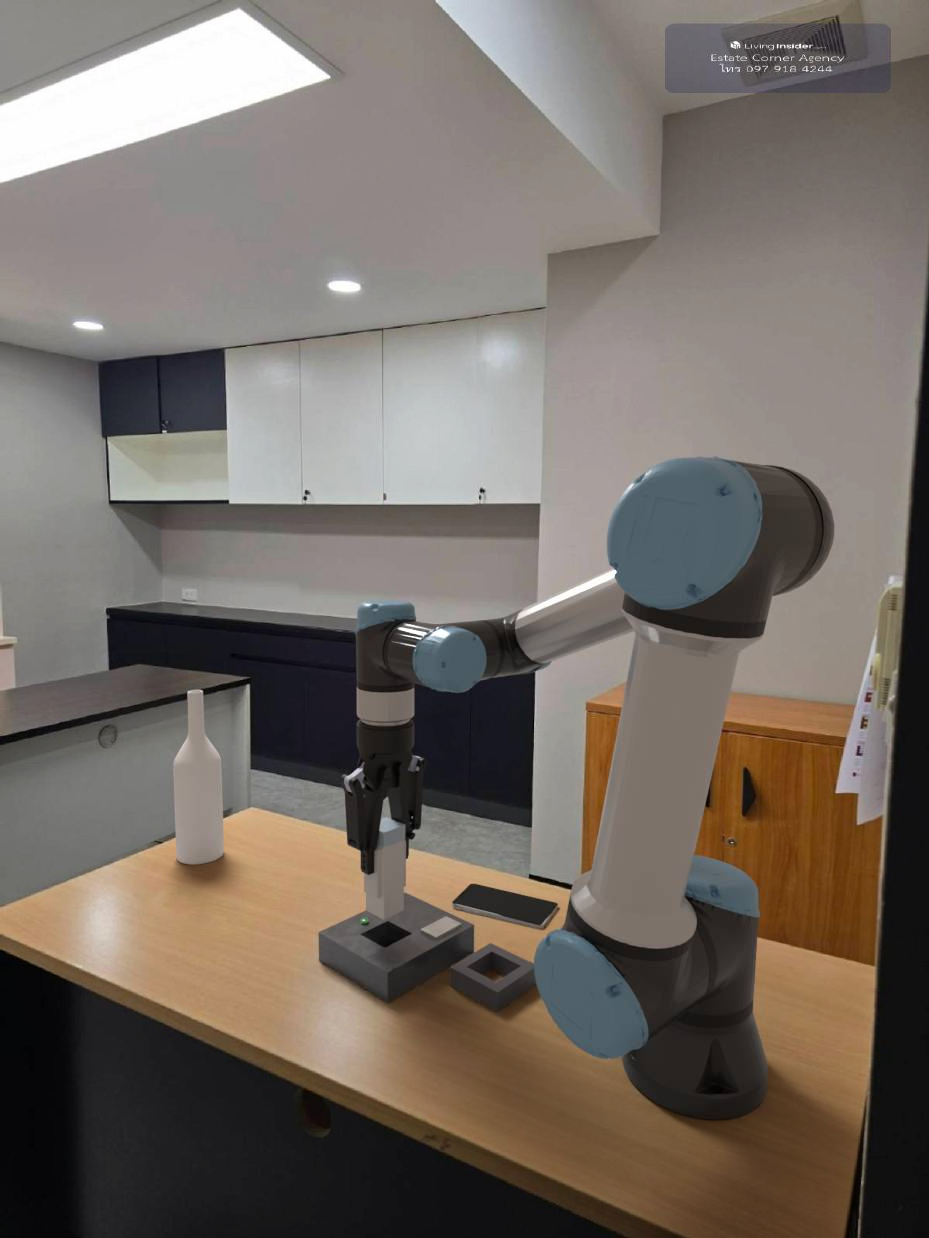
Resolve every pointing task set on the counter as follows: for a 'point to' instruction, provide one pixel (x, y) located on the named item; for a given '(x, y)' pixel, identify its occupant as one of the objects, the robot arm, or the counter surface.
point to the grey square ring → (487, 991)
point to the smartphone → (505, 906)
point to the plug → (390, 870)
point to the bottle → (198, 792)
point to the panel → (396, 947)
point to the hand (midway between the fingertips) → (385, 888)
